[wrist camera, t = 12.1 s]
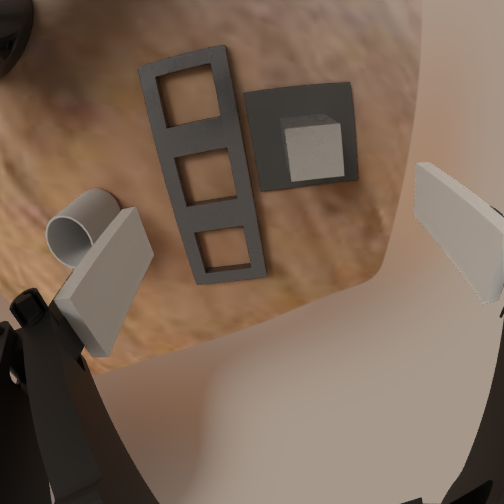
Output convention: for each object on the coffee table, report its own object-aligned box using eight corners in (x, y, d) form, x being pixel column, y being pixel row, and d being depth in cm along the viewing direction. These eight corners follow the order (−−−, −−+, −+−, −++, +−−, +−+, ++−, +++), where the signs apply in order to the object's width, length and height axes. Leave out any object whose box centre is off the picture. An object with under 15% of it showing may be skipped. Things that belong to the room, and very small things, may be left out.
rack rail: (141, 67, 29) (137, 67, 28) (225, 45, 28) (224, 44, 27) (198, 279, 45) (196, 284, 44) (266, 272, 44) (266, 277, 43)
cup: (126, 196, 38) (97, 227, 31) (116, 255, 43) (91, 292, 35) (82, 180, 37) (46, 207, 29) (75, 239, 42) (46, 273, 34)
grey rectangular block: (279, 118, 32) (284, 129, 25) (323, 113, 32) (340, 123, 25) (285, 159, 35) (291, 181, 28) (327, 155, 34) (344, 175, 27)
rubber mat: (243, 93, 31) (243, 93, 31) (349, 82, 30) (350, 82, 30) (260, 190, 37) (260, 191, 37) (357, 179, 36) (358, 180, 36)
